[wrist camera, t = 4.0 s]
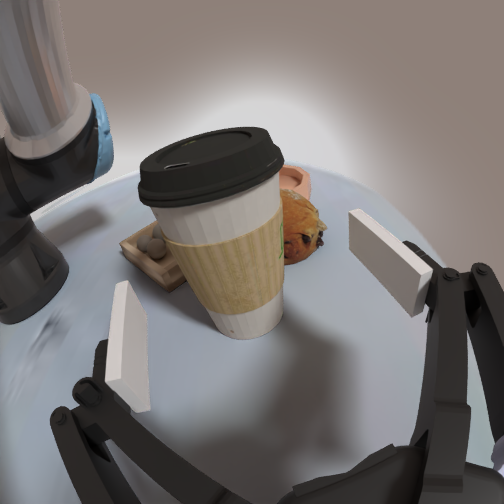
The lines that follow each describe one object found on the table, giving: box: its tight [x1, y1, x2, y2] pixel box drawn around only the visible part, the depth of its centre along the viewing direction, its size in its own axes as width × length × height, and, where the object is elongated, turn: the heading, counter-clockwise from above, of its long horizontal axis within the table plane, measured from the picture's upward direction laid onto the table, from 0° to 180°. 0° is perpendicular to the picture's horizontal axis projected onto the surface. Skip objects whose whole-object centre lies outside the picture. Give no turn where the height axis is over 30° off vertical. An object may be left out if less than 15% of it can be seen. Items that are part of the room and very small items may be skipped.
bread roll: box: [280, 188, 327, 265], centre depth 34 cm, size 10×10×8 cm
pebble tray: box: [119, 220, 187, 292], centre depth 36 cm, size 12×8×3 cm, turn 45°
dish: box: [279, 165, 311, 201], centre depth 45 cm, size 14×14×2 cm
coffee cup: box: [138, 127, 285, 340], centre depth 23 cm, size 10×10×15 cm
